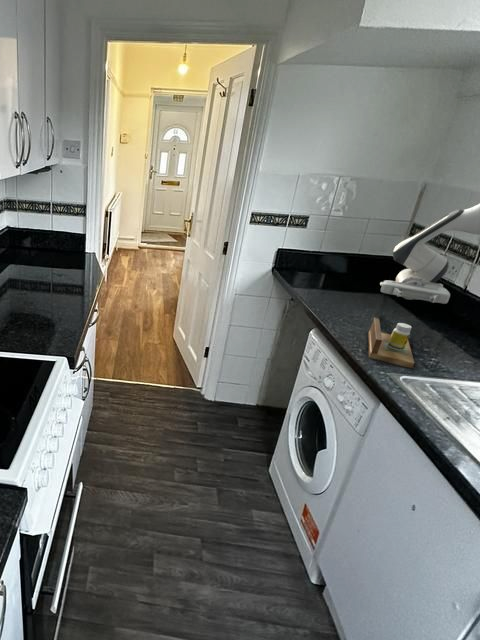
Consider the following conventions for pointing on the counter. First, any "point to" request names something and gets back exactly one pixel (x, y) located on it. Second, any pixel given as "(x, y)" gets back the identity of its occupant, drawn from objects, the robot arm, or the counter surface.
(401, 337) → the supplement bottle
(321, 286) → the counter surface
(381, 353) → the oak shelf
